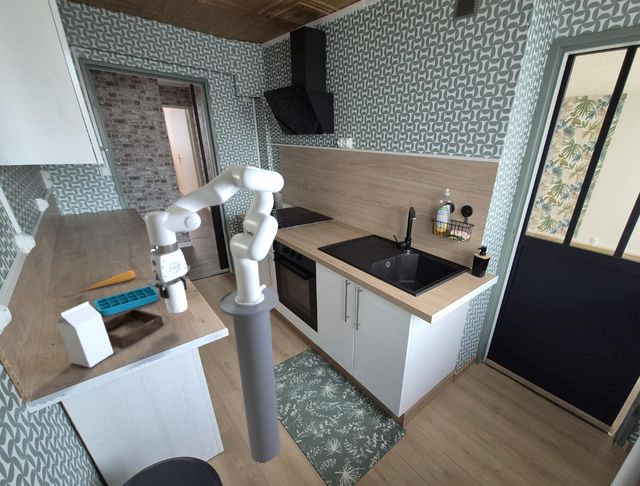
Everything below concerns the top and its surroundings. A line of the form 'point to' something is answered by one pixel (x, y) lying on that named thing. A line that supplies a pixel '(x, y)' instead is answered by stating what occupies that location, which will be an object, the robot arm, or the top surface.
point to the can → (176, 297)
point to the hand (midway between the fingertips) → (174, 293)
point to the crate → (127, 339)
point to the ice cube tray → (126, 300)
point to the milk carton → (84, 335)
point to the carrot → (115, 279)
